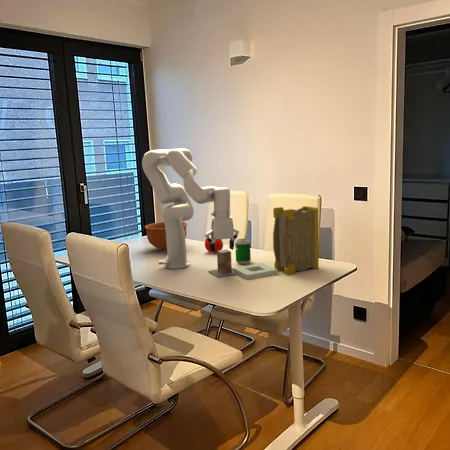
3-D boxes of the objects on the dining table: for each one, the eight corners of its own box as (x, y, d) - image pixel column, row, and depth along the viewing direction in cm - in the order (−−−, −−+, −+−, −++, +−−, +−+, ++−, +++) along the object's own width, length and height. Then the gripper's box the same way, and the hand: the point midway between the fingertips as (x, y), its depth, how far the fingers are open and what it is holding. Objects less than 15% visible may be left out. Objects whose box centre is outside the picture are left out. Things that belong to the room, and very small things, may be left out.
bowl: (179, 255, 264) (177, 228, 262) (138, 253, 271) (136, 228, 269) (194, 245, 288) (193, 221, 285) (156, 244, 295) (155, 220, 292)
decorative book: (307, 264, 234) (306, 203, 228) (320, 269, 224) (320, 206, 219) (272, 270, 225) (270, 208, 220) (285, 275, 215) (283, 210, 210)
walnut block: (222, 273, 221) (221, 252, 219) (217, 271, 225) (216, 250, 224) (231, 272, 223) (230, 251, 221) (227, 269, 227) (226, 249, 226)
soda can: (252, 261, 243) (252, 238, 241) (247, 265, 237) (246, 241, 235) (239, 260, 246) (238, 238, 244) (233, 264, 240) (232, 240, 238)
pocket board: (247, 279, 212) (247, 275, 212) (233, 272, 225) (233, 268, 225) (277, 273, 219) (277, 269, 219) (262, 267, 232) (262, 263, 231)
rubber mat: (218, 278, 216) (218, 276, 216) (208, 272, 227) (208, 270, 227) (242, 273, 221) (241, 272, 221) (230, 268, 232) (230, 267, 232)
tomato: (206, 255, 261) (206, 240, 259) (203, 251, 271) (202, 236, 270) (225, 253, 263) (224, 238, 262) (221, 249, 274) (220, 234, 272)
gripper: (208, 217, 213) (208, 254, 216) (242, 214, 220) (242, 249, 223) (201, 214, 219) (202, 250, 223) (235, 211, 226) (235, 246, 230)
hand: (222, 250), depth 223 cm, fingers open, 9 cm apart
